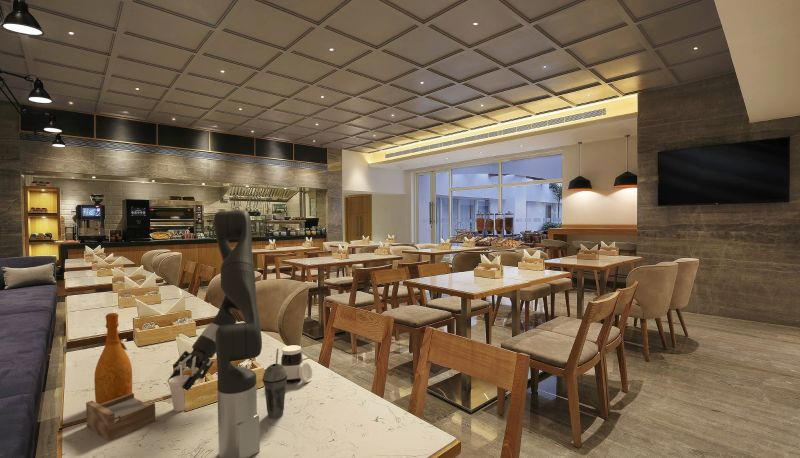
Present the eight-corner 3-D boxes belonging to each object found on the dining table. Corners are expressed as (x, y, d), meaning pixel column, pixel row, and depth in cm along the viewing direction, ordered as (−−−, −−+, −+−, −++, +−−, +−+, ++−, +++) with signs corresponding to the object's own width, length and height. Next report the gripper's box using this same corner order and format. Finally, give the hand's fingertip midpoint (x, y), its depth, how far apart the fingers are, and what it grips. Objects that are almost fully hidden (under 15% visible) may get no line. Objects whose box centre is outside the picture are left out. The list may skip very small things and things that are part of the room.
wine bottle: (128, 408, 123) (125, 315, 122) (90, 414, 120) (87, 318, 119) (136, 395, 132) (134, 308, 132) (101, 401, 129) (98, 311, 128)
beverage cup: (257, 417, 117) (256, 351, 117) (275, 406, 124) (274, 344, 123) (275, 423, 114) (274, 355, 114) (293, 412, 121) (292, 348, 120)
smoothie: (181, 414, 119) (180, 369, 119) (163, 412, 121) (162, 368, 120) (196, 404, 126) (195, 362, 125) (179, 403, 127) (178, 360, 127)
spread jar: (283, 374, 150) (282, 344, 150) (313, 372, 152) (312, 342, 152) (279, 387, 138) (278, 355, 138) (311, 385, 140) (311, 353, 140)
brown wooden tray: (155, 420, 116) (154, 397, 116) (108, 440, 106) (108, 415, 105) (132, 408, 123) (132, 387, 123) (86, 426, 113) (86, 402, 113)
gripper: (191, 331, 133) (156, 376, 124) (215, 337, 126) (181, 386, 116) (206, 342, 138) (173, 386, 128) (230, 349, 130) (198, 396, 121)
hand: (177, 386), depth 122 cm, fingers open, 8 cm apart
